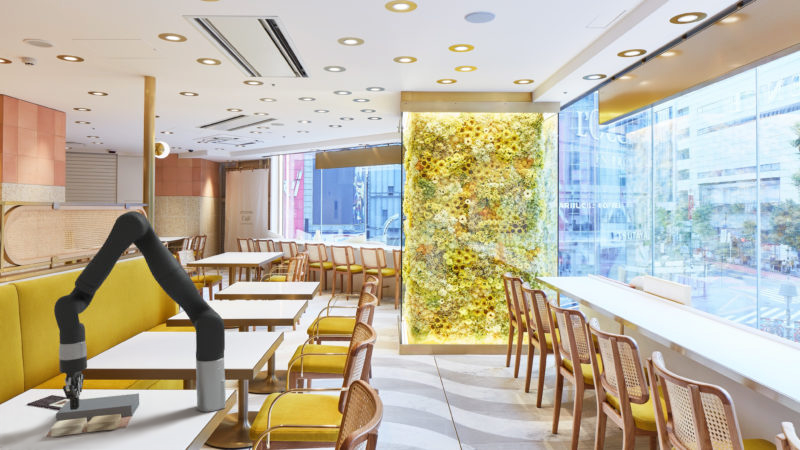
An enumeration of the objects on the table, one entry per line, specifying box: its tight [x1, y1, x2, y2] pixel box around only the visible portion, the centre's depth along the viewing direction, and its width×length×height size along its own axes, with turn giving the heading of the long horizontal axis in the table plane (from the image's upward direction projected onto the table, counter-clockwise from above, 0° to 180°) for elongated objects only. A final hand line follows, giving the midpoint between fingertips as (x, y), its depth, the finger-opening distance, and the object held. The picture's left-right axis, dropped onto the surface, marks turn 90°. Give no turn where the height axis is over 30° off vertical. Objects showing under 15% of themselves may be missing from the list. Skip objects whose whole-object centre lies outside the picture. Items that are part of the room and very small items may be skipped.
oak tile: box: [86, 414, 121, 433], centre depth 163 cm, size 8×6×2 cm
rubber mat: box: [45, 416, 132, 438], centre depth 164 cm, size 22×8×1 cm, turn 106°
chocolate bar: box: [27, 394, 80, 411], centre depth 186 cm, size 9×1×18 cm
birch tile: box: [50, 418, 87, 438], centre depth 160 cm, size 8×6×2 cm
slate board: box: [55, 393, 140, 423], centre depth 174 cm, size 22×12×4 cm, turn 106°
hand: (74, 408), depth 167 cm, fingers closed
